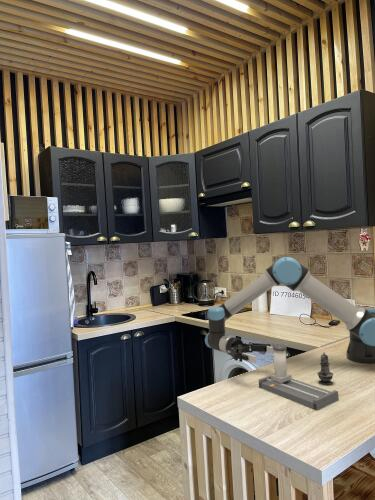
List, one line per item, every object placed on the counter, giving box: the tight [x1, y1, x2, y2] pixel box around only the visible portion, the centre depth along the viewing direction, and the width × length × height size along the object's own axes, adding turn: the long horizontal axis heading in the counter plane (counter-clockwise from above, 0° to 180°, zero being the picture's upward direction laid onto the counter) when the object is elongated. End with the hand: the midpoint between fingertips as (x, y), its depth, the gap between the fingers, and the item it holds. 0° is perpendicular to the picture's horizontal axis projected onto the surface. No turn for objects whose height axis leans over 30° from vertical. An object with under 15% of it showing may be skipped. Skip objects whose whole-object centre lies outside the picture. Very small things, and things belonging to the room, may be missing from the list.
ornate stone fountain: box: [317, 351, 334, 387], centre depth 140 cm, size 6×6×12 cm
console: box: [258, 374, 340, 411], centre depth 132 cm, size 12×26×3 cm, turn 34°
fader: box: [270, 343, 293, 383], centre depth 137 cm, size 6×5×13 cm
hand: (267, 356), depth 142 cm, fingers open, 13 cm apart
